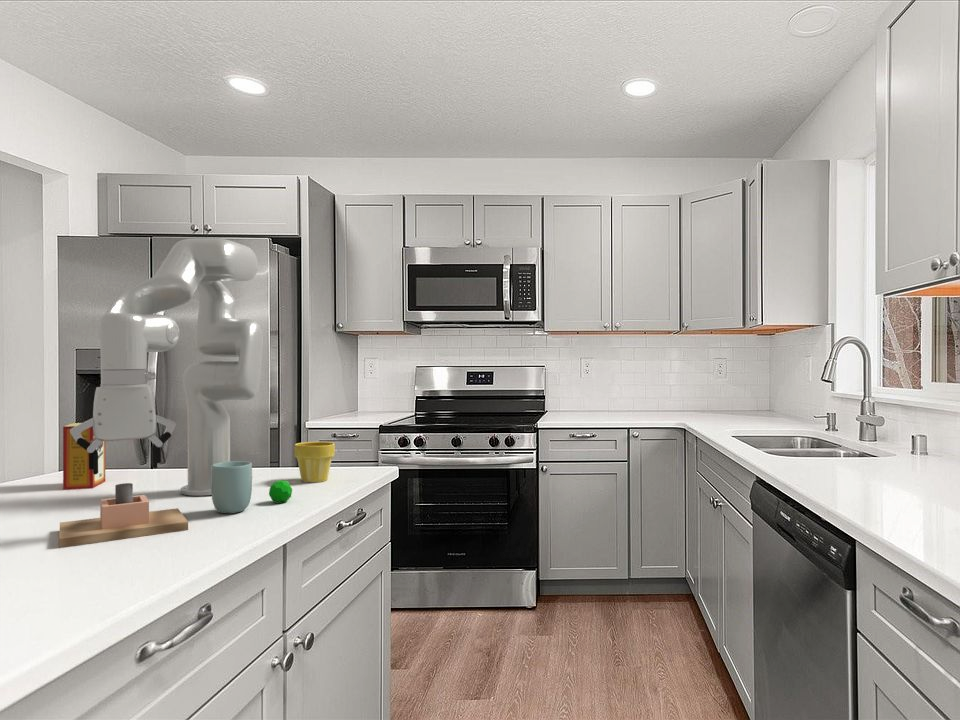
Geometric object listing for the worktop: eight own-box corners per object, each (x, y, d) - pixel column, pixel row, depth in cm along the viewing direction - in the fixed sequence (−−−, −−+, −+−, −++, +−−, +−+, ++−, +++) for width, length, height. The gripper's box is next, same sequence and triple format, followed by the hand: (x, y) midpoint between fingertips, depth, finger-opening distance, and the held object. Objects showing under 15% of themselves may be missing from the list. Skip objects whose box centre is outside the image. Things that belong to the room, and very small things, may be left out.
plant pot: (324, 475, 172) (324, 440, 172) (341, 480, 164) (341, 443, 164) (288, 479, 165) (288, 443, 165) (304, 485, 157) (304, 447, 157)
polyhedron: (273, 505, 135) (273, 484, 135) (265, 502, 139) (265, 480, 139) (295, 502, 139) (295, 481, 139) (287, 498, 142) (286, 478, 142)
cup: (259, 508, 133) (259, 462, 133) (234, 517, 125) (233, 467, 125) (230, 506, 135) (229, 460, 135) (203, 514, 128) (203, 465, 128)
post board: (177, 515, 127) (177, 474, 127) (188, 529, 116) (188, 484, 116) (59, 530, 116) (59, 485, 116) (59, 547, 105) (59, 497, 105)
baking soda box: (77, 482, 162) (77, 421, 163) (105, 481, 164) (105, 420, 164) (63, 489, 153) (63, 425, 153) (92, 488, 155) (92, 424, 155)
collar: (144, 515, 121) (144, 494, 121) (149, 523, 115) (149, 501, 115) (100, 520, 117) (100, 499, 117) (102, 529, 111) (102, 507, 111)
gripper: (172, 377, 124) (173, 462, 124) (68, 379, 114) (70, 472, 115) (178, 378, 118) (179, 468, 118) (69, 381, 108) (70, 479, 108)
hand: (125, 470), depth 116 cm, fingers open, 9 cm apart
